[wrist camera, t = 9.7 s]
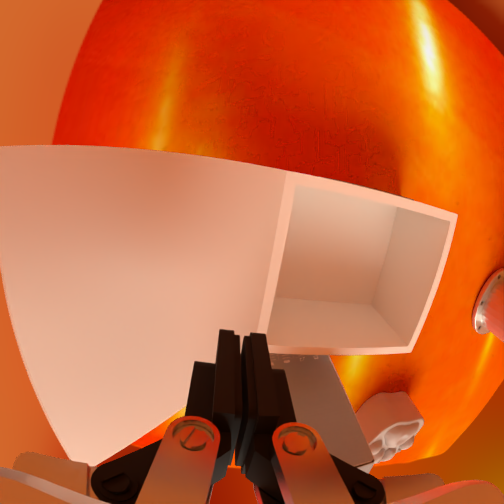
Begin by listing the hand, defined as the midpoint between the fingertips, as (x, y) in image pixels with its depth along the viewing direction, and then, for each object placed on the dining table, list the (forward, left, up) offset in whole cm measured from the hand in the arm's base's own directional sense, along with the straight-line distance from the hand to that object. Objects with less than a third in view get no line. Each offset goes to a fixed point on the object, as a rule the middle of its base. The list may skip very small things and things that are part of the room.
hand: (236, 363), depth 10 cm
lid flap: (+2, 0, -3) cm, 4 cm away
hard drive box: (-9, +18, -20) cm, 29 cm away
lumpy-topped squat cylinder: (-29, +29, -20) cm, 46 cm away
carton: (-10, 0, -20) cm, 23 cm away
